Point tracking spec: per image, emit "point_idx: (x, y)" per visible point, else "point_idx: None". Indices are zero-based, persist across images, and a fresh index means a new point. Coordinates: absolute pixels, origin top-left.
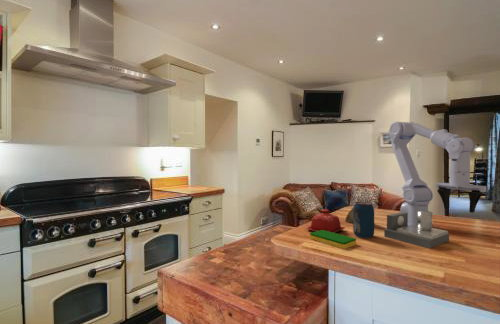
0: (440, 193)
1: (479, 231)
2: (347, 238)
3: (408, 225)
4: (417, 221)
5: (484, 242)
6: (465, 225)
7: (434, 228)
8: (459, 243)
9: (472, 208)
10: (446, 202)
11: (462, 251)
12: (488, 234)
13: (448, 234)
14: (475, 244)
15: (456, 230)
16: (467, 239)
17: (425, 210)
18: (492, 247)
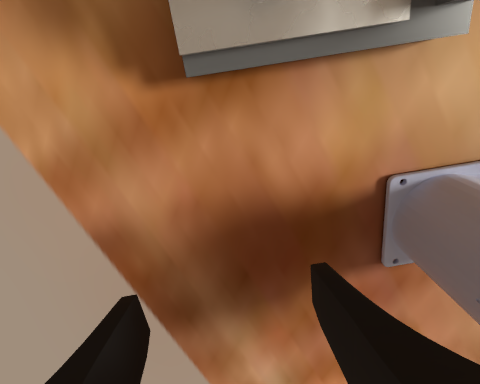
0: (464, 374)
1: (234, 343)
2: None
3: (438, 31)
4: None
5: (119, 217)
6: (308, 372)
7: (263, 36)
8: (144, 90)
9: (99, 325)
10: (336, 313)
11: None
12: (194, 333)
13: (185, 68)
14: (107, 149)
15: (286, 286)
16: (178, 196)
17: (461, 267)
18: (50, 173)
